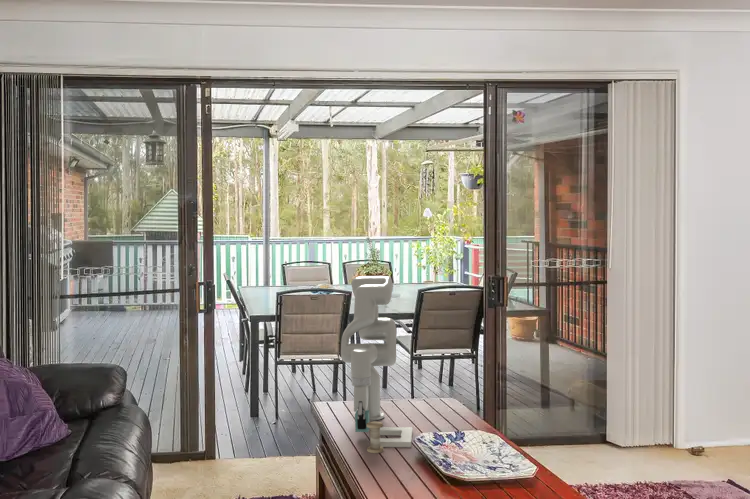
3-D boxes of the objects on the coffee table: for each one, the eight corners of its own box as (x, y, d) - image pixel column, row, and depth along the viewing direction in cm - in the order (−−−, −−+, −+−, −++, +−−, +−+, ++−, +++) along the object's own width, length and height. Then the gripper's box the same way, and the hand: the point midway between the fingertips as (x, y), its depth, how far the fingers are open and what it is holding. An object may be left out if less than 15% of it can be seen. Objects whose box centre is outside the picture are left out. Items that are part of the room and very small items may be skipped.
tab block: (356, 427, 296) (356, 410, 296) (369, 427, 296) (369, 410, 295) (355, 432, 291) (355, 414, 291) (368, 432, 291) (368, 414, 290)
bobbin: (367, 447, 283) (367, 421, 282) (383, 447, 282) (383, 421, 281) (366, 453, 277) (365, 426, 276) (382, 453, 276) (382, 426, 275)
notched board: (377, 432, 301) (377, 427, 301) (412, 432, 300) (412, 427, 300) (373, 446, 283) (373, 441, 283) (410, 447, 282) (410, 441, 282)
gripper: (354, 374, 300) (355, 419, 302) (349, 386, 283) (350, 434, 285) (372, 374, 300) (374, 419, 302) (369, 386, 283) (370, 434, 285)
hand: (362, 425), depth 293 cm, fingers closed on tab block, 4 cm apart
